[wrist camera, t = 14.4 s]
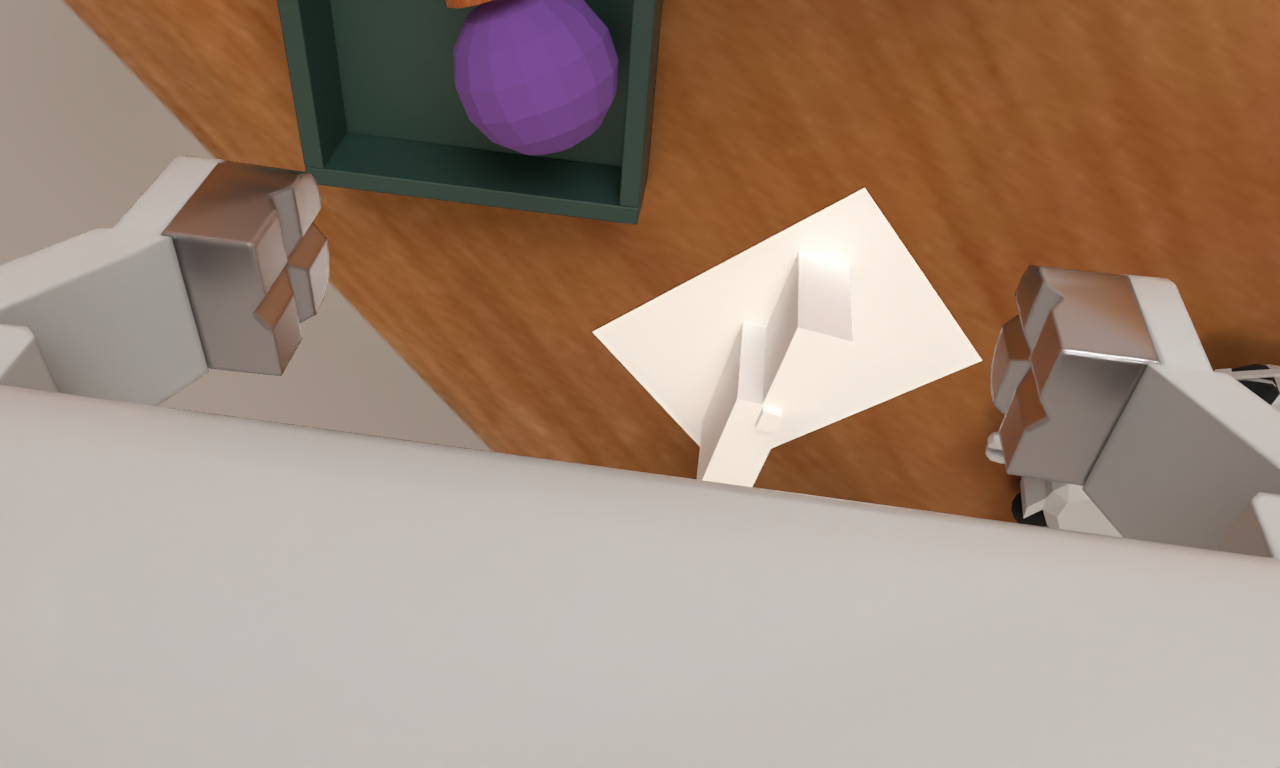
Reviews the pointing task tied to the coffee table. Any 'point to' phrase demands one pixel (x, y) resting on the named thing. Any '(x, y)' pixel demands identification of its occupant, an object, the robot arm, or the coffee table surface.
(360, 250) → the coffee table surface
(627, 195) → the tray
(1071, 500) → the robot toy
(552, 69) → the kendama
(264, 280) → the robot arm
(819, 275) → the napkin holder
